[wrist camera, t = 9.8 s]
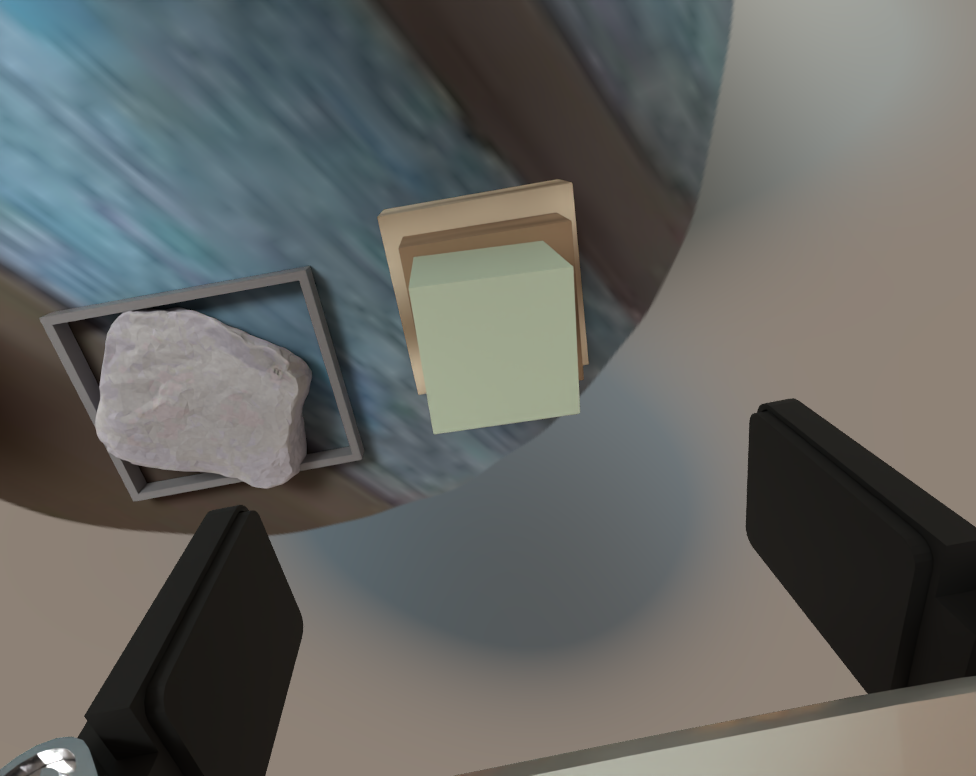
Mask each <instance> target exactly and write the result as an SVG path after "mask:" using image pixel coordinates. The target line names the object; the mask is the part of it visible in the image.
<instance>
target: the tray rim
mask: <svg viewBox="0 0 976 776" xmlns="http://www.w3.org/2000/svg"><path fill="white" fill-rule="evenodd" d="M298 280H299V281H300V285H301V288H302V291H303V295H304V298H305V301H306V304H307V308H308V311H309V314H310V317H311V321H312V324H313V327H314V330H315V334H316V337H317V340H318V344H319V347H320V350H321V353H322V357H323V360H324V363H325V366H326V370H327V373H328V376H329V379H330V383H331V386H332V389H333V393H334V396H335V399H336V402H337V406H338V409H339V412H340V415H341V419H342V422H343V425H344V429H345V432H346V435H347V438H348V442H349V445H350V446H349V447H343V448H338V449H333V450H327V451H322V452H316V453H311V454H307V455H306V457H305V459H304V460H303V461H302V462H301V464H300V471H303V470H309V469H314V468H319V467H325V466H330V465H336V464H341V463H347V462H352V461H358V460H362V458H363V454H364V448H363V444H362V441H361V437H360V434H359V431H358V427H357V424H356V420H355V417H354V414H353V410H352V407H351V404H350V400H349V397H348V393H347V390H346V387H345V383H344V380H343V376H342V373H341V370H340V366H339V363H338V359H337V356H336V353H335V349H334V346H333V342H332V339H331V336H330V332H329V329H328V325H327V322H326V319H325V315H324V312H323V309H322V305H321V302H320V298H319V295H318V292H317V288H316V285H315V281H314V278H313V275H312V271H311V268H310V266H306V267H300V268H295V269H289V270H284V271H278V272H272V273H267V274H261V275H256V276H250V277H245V278H239V279H234V280H228V281H223V282H217V283H211V284H206V285H200V286H195V287H189V288H184V289H178V290H173V291H167V292H162V293H156V294H150V295H145V296H139V297H134V298H128V299H123V300H117V301H112V302H106V303H101V304H95V305H89V306H84V307H78V308H73V309H67V310H62V311H56V312H52V313H50V314H47V315H45V316H43V317H40V318H39V319H40V321H41V323H42V325H43V327H44V329H45V331H46V333H47V335H48V337H49V338H50V340H51V342H52V344H53V346H54V348H55V350H56V352H57V354H58V356H59V358H60V360H61V362H62V364H63V366H64V368H65V369H66V371H67V373H68V375H69V377H70V379H71V381H72V383H73V385H74V387H75V389H76V391H77V393H78V395H79V397H80V399H81V401H82V402H83V404H84V406H85V408H86V410H87V412H88V414H89V416H90V418H91V420H92V422H93V424H94V426H95V420H96V414H97V410H98V406H99V402H100V389H99V386H98V384H97V382H96V380H95V377H94V375H93V373H92V371H91V369H90V367H89V365H88V363H87V361H86V359H85V357H84V355H83V353H82V351H81V349H80V347H79V345H78V343H77V341H76V339H75V337H74V335H73V333H72V331H71V329H70V327H69V325H68V323H67V322H71V321H77V320H82V319H88V318H93V317H99V316H104V315H110V314H115V313H121V312H127V311H132V310H138V309H143V308H149V307H154V306H160V305H165V304H171V303H176V302H182V301H187V300H193V299H199V298H204V297H210V296H215V295H221V294H226V293H232V292H237V291H243V290H248V289H254V288H259V287H265V286H271V285H276V284H282V283H287V282H293V281H298ZM95 428H96V427H95ZM104 445H105V444H104ZM105 447H106V449H107V446H106V445H105ZM107 451H108V450H107ZM108 453H109V452H108ZM109 455H110V457H111V459H112V461H113V463H114V465H115V466H116V468H117V470H118V472H119V474H120V476H121V478H122V480H123V482H124V484H125V486H126V488H127V490H128V492H129V494H130V496H131V497H132V499H133V501H140V500H145V499H151V498H156V497H162V496H167V495H172V494H178V493H183V492H189V491H194V490H200V489H205V488H211V487H216V486H221V485H227V484H232V483H238V482H243V481H242V480H240V479H238V478H230V477H226V476H223V475H221V474H216V473H208V472H207V473H202V474H196V475H191V476H185V477H180V478H174V479H169V480H164V481H158V482H153V483H147V482H146V480H145V478H144V476H143V474H142V472H141V470H140V468H139V466H138V465H135V464H132V463H131V462H129V461H126V460H122V459H120V458H117V457H115V456H114V455H113V454H111V453H109Z"/></svg>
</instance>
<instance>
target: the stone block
mask: <svg viewBox="0 0 976 776" xmlns="http://www.w3.org/2000/svg"><path fill="white" fill-rule="evenodd" d="M311 379H312V371H311V369H310V368H309V366H308V365H307V364H306V362H305V361H304V360H302V359H301V358H300V357H298V356H296V355H294V354H293V353H292V352H290V351H289V350H287V349H286V348H284V347H280V346H277V345H275V344H272V343H270V342H268V341H266V340H262V339H260V338H257V337H255V336H252V335H250V334H248V333H247V332H244V331H242V330H240V329H237V328H233V327H230V326H227V325H225V324H223V323H222V322H220V321H219V320H217V319H215V318H212V317H209V316H206V315H205V314H202V313H199V312H197V311H193V310H187V309H185V308H181V307H176V308H170V309H167V310H161V309H154V308H143V309H138V310H132V311H127V312H123V313H122V314H121V315H120V316H119V317H118V318H117V319H116V320H115V321H114V322H113V324H112V325H111V328H110V330H109V331H108V333H107V339H106V342H105V354H104V360H103V365H102V371H101V379H100V386H99V389H100V402H99V406H98V410H97V414H96V420H95V427H96V431H97V436H98V437H99V439H100V440H101V441H102V442H103V443H104V444H105V445H106V446H107V450H108V452H109V453H111V454H113V455H114V456H115V457H117V458H120V459H122V460H126V461H129V462H131V463H132V464H135V465H140V466H146V467H152V468H159V469H163V470H175V471H191V472H208V473H216V474H221V475H223V476H226V477H230V478H238V479H240V480H242V481H244V482H246V483H247V484H249V485H251V486H253V487H257V488H266V489H268V488H271V487H275V486H279V485H282V484H284V483H285V482H287V481H288V480H290V479H291V478H292V477H293V476H295V475H296V474H298V473H299V471H300V464H301V462H302V461H303V460H304V459H305V457H306V455H307V442H306V434H305V429H304V428H305V424H304V417H303V415H302V410H303V405H304V402H305V399H306V397H307V395H308V393H309V389H310V383H311Z"/></svg>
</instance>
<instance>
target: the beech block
mask: <svg viewBox="0 0 976 776" xmlns="http://www.w3.org/2000/svg"><path fill="white" fill-rule="evenodd" d="M556 212H557V213H559V214H561V215H562V216H564V217H566V218H568V219H569V220H571V221H572V233H573V246H574V259H575V272H576V285H577V298H578V311H579V324H580V337H581V350H582V363H583V365H588V364H589V362H588V351H587V340H586V329H585V318H584V307H583V296H582V285H581V273H580V262H579V251H578V240H577V229H576V218H575V207H574V196H573V185H572V183H571V182H567V181H564V180H560V179H556V180H550V181H544V182H539V183H533V184H527V185H521V186H516V187H510V188H504V189H499V190H493V191H487V192H481V193H476V194H470V195H464V196H459V197H453V198H447V199H441V200H436V201H430V202H424V203H419V204H413V205H407V206H402V207H396V208H390V209H384V210H383V211H382V212H381V213H380V214H379V216H378V217H377V218H378V223H379V227H380V231H381V236H382V240H383V244H384V248H385V253H386V257H387V261H388V266H389V270H390V274H391V279H392V283H393V287H394V292H395V296H396V300H397V304H398V309H399V313H400V317H401V322H402V326H403V330H404V335H405V339H406V343H407V348H408V352H409V356H410V360H411V365H412V369H413V373H414V378H415V382H416V386H417V391H418V395H420V394H425V393H426V387H425V381H424V376H423V370H422V364H421V358H420V352H419V346H418V341H417V337H416V332H415V327H414V322H413V317H412V312H411V307H410V303H409V298H408V293H407V288H406V283H405V278H404V273H403V268H402V264H401V259H400V254H399V249H398V248H399V245H400V243H401V240H402V238H403V237H404V236H410V235H417V234H423V233H429V232H436V231H442V230H448V229H455V228H461V227H467V226H474V225H480V224H486V223H492V222H499V221H505V220H511V219H518V218H524V217H530V216H537V215H543V214H549V213H556Z"/></svg>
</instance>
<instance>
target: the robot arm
mask: <svg viewBox="0 0 976 776" xmlns="http://www.w3.org/2000/svg"><path fill="white" fill-rule="evenodd" d="M748 452H749V453H748V479H747V508H746V531H747V536H748V539H749V541H750V543H751V545H752V546H753V548H754V549H755V550H756V552H757V553H758V554H759V556H760V557H761V558H762V559H763V561H764V562H765V563H766V564H767V566H768V567H769V568H770V570H771V571H772V572H773V573H774V575H775V576H776V577H777V579H778V580H779V581H780V582H781V584H782V585H783V586H784V588H785V589H786V590H787V591H788V593H789V594H790V595H791V596H792V598H793V599H794V600H795V602H796V603H797V604H798V605H799V607H800V608H801V609H802V611H803V612H804V613H805V614H806V616H807V617H808V618H809V619H810V621H811V622H812V623H813V624H814V626H815V627H816V628H817V630H818V631H819V632H820V633H821V635H822V636H823V637H824V639H825V640H826V641H827V642H828V643H829V645H830V646H831V648H832V649H833V650H834V651H835V653H836V654H837V655H838V656H839V658H840V659H841V660H842V661H843V663H844V664H845V665H846V667H847V668H848V669H849V670H850V672H851V673H852V674H853V675H854V677H855V678H856V679H857V680H858V682H859V683H860V685H861V686H862V687H863V688H864V690H865V691H866V692H867V693H868V694H866V695H861V696H855V697H849V698H844V699H839V700H834V701H829V702H823V703H819V704H813V705H808V706H803V707H798V708H793V709H788V710H782V711H778V712H772V713H767V714H762V715H757V716H752V717H746V718H741V719H736V720H731V721H726V722H721V723H715V724H710V725H705V726H700V727H695V728H690V729H685V730H680V731H674V732H669V733H665V734H659V735H654V736H649V737H644V738H639V739H634V740H629V741H625V742H619V743H614V744H609V745H604V746H599V747H594V748H590V749H584V750H579V751H574V752H569V753H564V754H559V755H554V756H549V757H544V758H539V759H535V760H529V761H524V762H519V763H514V764H510V765H505V766H500V767H494V768H489V769H484V770H480V771H474V772H469V773H465V774H460V775H455V776H976V527H975V526H973V525H972V524H970V523H969V522H968V521H966V520H965V519H963V518H962V517H961V516H959V515H958V514H956V513H955V512H954V511H952V510H951V509H949V508H948V507H947V506H945V505H944V504H942V503H941V502H940V501H938V500H937V499H935V498H934V497H933V496H931V495H930V494H928V493H927V492H926V491H924V490H923V489H921V488H920V487H919V486H917V485H916V484H914V483H913V482H912V481H910V480H909V479H907V478H906V477H905V476H903V475H902V474H901V473H899V472H898V471H896V470H895V469H894V468H892V467H891V466H889V465H888V464H887V463H885V462H884V461H882V460H881V459H879V458H878V457H877V456H875V455H874V454H872V453H871V452H870V451H868V450H867V449H866V448H864V447H863V446H861V445H860V444H858V443H857V442H856V441H854V440H853V439H852V438H850V437H849V436H847V435H846V434H845V433H843V432H842V431H840V430H839V429H838V428H836V427H835V426H833V425H832V424H830V423H829V422H828V421H826V420H825V419H824V418H822V417H821V416H819V415H818V414H816V413H815V412H814V411H812V410H811V409H809V408H808V407H807V406H805V405H804V404H803V403H801V402H800V401H798V400H796V399H786V400H781V401H776V402H770V403H765V404H762V405H760V406H759V409H758V411H757V413H754V414H752V415H751V417H750V423H749V451H748ZM302 634H303V620H302V616H301V613H300V610H299V608H298V606H297V603H296V601H295V598H294V596H293V594H292V591H291V589H290V587H289V585H288V582H287V580H286V577H285V575H284V573H283V570H282V568H281V566H280V563H279V561H278V558H277V556H276V554H275V551H274V549H273V547H272V545H271V542H270V540H269V537H268V535H267V533H266V530H265V528H264V525H263V523H262V521H261V518H260V516H259V514H258V513H257V512H256V511H249V510H248V509H247V508H246V507H245V506H243V505H238V506H233V507H227V508H222V509H217V510H212V511H210V512H208V514H207V515H206V516H205V518H204V519H203V521H202V523H201V524H200V526H199V528H198V529H197V531H196V533H195V534H194V536H193V538H192V539H191V541H190V542H189V544H188V546H187V548H186V549H185V551H184V552H183V554H182V556H181V557H180V559H179V561H178V562H177V564H176V566H175V567H174V569H173V571H172V572H171V574H170V575H169V577H168V579H167V580H166V582H165V584H164V586H163V587H162V589H161V590H160V592H159V594H158V595H157V597H156V599H155V600H154V602H153V603H152V605H151V607H150V609H149V610H148V612H147V613H146V615H145V617H144V618H143V620H142V622H141V624H140V625H139V627H138V628H137V630H136V632H135V633H134V635H133V636H132V638H131V640H130V641H129V643H128V645H127V647H126V648H125V650H124V651H123V653H122V655H121V656H120V658H119V660H118V661H117V663H116V664H115V666H114V668H113V669H112V671H111V673H110V675H109V676H108V678H107V679H106V681H105V683H104V684H103V686H102V688H101V689H100V691H99V692H98V694H97V696H96V697H95V699H94V701H93V702H92V704H91V706H90V708H89V709H88V711H87V713H86V714H85V716H84V717H85V718H86V719H87V723H86V724H85V726H84V728H83V730H82V731H81V733H80V734H79V736H78V738H74V737H63V738H56V739H53V740H50V741H47V742H45V743H42V744H39V745H37V746H35V747H33V748H31V749H30V750H28V751H26V752H25V753H23V754H21V755H19V756H18V757H16V758H15V759H13V760H12V761H11V762H10V763H8V764H7V765H6V766H4V767H3V768H2V769H0V776H265V774H266V771H267V767H268V763H269V759H270V756H271V752H272V748H273V744H274V741H275V737H276V733H277V729H278V726H279V722H280V718H281V714H282V710H283V707H284V703H285V699H286V695H287V691H288V688H289V684H290V680H291V677H292V672H293V669H294V665H295V661H296V657H297V654H298V650H299V646H300V643H301V639H302Z"/></svg>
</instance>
